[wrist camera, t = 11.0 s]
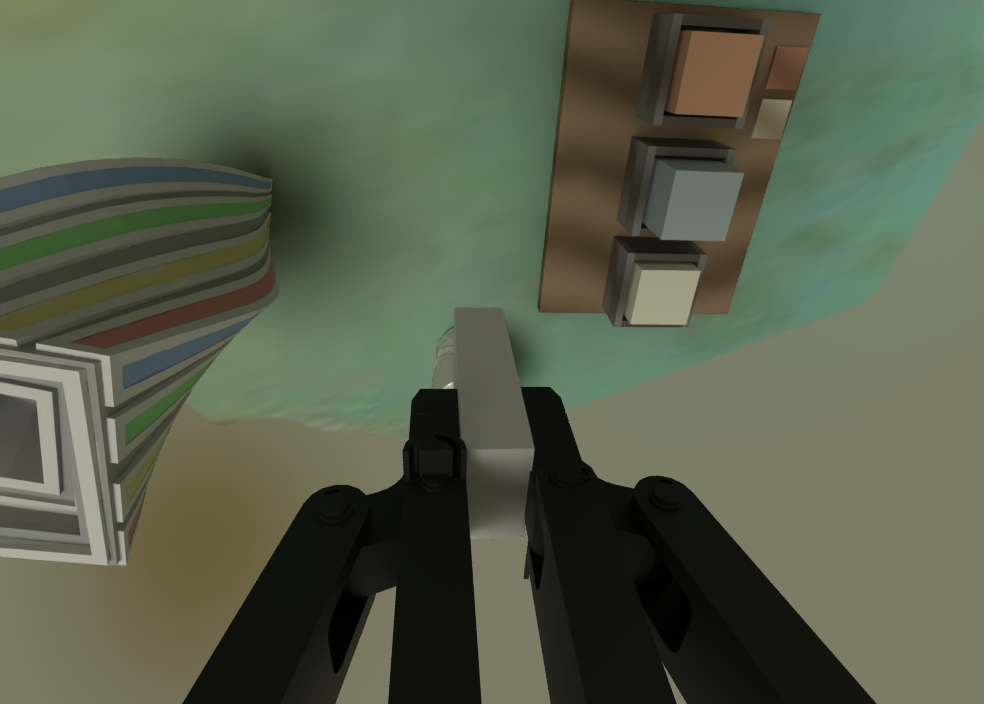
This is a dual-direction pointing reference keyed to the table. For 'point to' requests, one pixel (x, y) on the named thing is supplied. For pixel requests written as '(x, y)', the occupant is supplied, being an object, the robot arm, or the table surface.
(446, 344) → the white cup
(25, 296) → the vase
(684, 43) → the terracotta key
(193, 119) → the table surface
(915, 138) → the table surface
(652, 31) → the board
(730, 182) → the slate key
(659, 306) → the cream key
